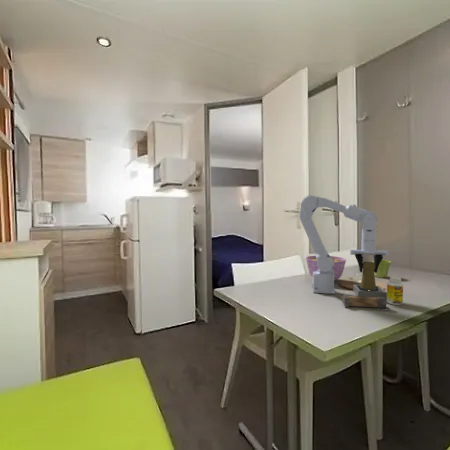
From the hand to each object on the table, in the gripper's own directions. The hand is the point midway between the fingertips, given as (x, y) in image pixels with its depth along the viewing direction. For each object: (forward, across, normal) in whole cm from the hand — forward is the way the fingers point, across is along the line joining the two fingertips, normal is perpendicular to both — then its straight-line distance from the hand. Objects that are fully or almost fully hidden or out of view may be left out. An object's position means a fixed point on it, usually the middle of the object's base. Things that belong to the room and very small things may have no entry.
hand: (368, 271), depth 133 cm
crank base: (+10, +1, -16) cm, 19 cm away
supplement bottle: (+11, +8, -9) cm, 16 cm away
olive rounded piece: (+7, 0, -1) cm, 7 cm away
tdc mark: (+10, -10, -5) cm, 15 cm away
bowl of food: (+11, -15, +26) cm, 32 cm away
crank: (+10, -4, -16) cm, 20 cm away
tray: (+10, +1, +2) cm, 11 cm away
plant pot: (+11, +16, +42) cm, 46 cm away
